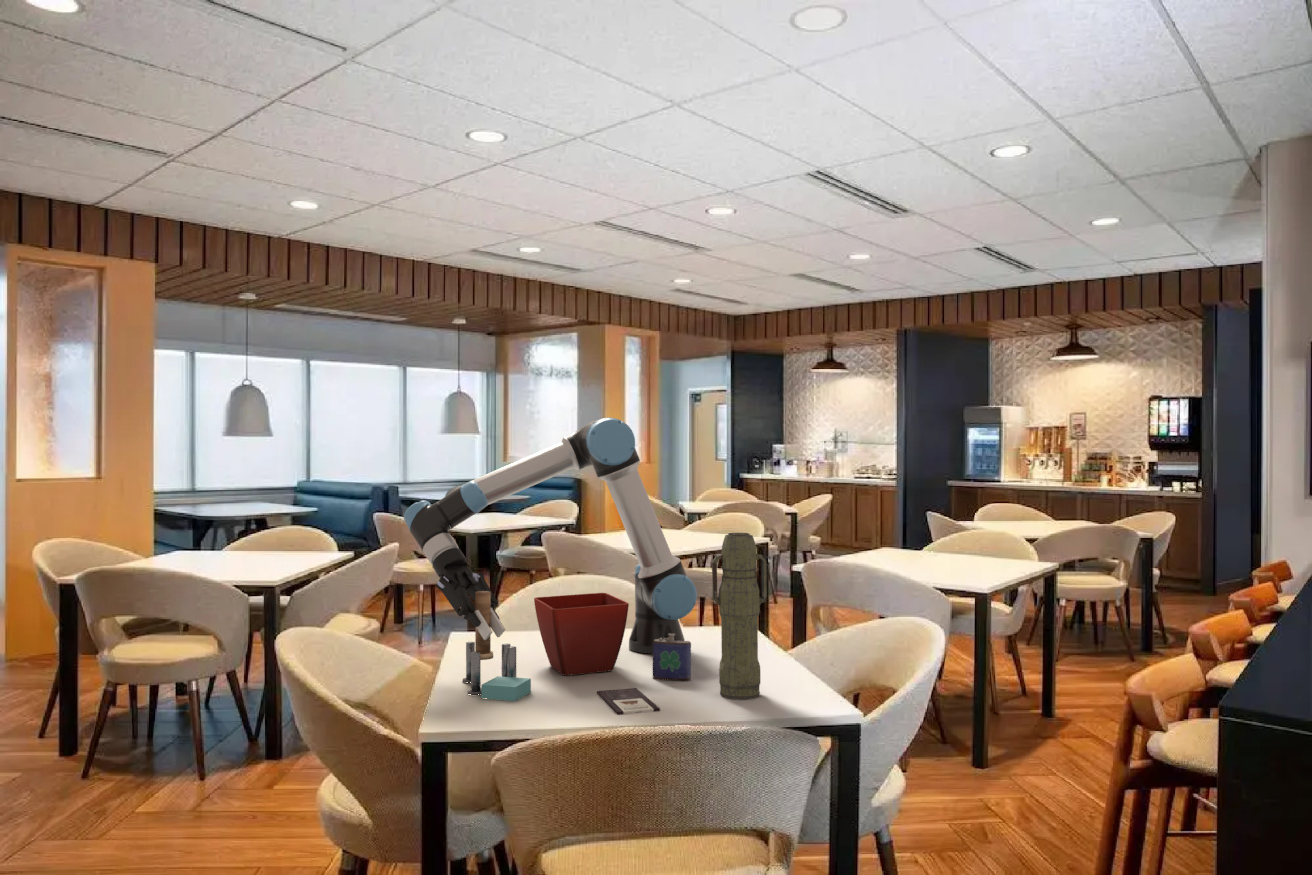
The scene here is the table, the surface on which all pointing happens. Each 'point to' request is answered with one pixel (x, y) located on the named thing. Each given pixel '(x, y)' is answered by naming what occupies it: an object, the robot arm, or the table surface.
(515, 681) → the block
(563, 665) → the plant pot
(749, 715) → the table surface
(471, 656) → the post course
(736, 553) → the thermos
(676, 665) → the flask
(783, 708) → the table surface
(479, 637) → the brown flanged cylinder
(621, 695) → the chocolate bar
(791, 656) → the table surface
